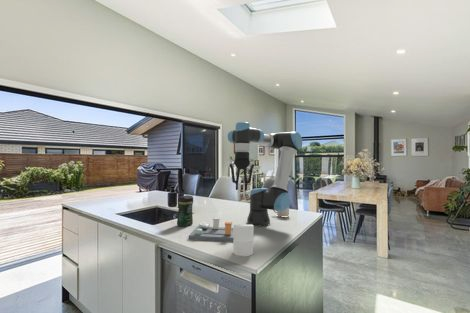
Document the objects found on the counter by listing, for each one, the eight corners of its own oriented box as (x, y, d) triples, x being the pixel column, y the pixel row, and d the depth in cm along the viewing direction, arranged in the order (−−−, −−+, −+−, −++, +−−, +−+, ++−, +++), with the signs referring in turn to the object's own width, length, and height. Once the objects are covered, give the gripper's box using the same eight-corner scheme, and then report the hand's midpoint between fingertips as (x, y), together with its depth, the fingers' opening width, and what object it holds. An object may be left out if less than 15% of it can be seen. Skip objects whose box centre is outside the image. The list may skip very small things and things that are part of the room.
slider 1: (219, 227, 137) (219, 217, 137) (218, 229, 133) (218, 218, 133) (213, 227, 137) (214, 217, 137) (212, 229, 134) (212, 218, 134)
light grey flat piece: (209, 225, 140) (210, 223, 140) (207, 228, 133) (207, 226, 133) (201, 223, 140) (201, 221, 140) (198, 226, 133) (198, 224, 133)
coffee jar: (184, 227, 143) (185, 197, 144) (174, 225, 147) (175, 195, 148) (194, 224, 152) (195, 195, 152) (185, 222, 156) (186, 194, 156)
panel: (237, 231, 138) (238, 223, 138) (234, 241, 120) (235, 233, 120) (197, 229, 141) (197, 222, 141) (188, 239, 123) (188, 230, 123)
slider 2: (231, 233, 127) (232, 222, 127) (231, 234, 123) (231, 223, 124) (225, 232, 127) (225, 221, 127) (224, 234, 124) (224, 223, 124)
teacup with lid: (289, 215, 182) (289, 200, 182) (288, 218, 173) (289, 202, 174) (273, 214, 185) (273, 199, 186) (272, 217, 177) (272, 201, 177)
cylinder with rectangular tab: (234, 256, 102) (235, 228, 102) (231, 248, 111) (232, 223, 111) (255, 255, 103) (255, 227, 104) (250, 248, 112) (251, 222, 112)
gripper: (256, 152, 129) (255, 195, 128) (228, 151, 130) (227, 194, 130) (256, 151, 121) (255, 197, 121) (226, 151, 123) (225, 196, 122)
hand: (241, 196), depth 125 cm, fingers open, 2 cm apart
